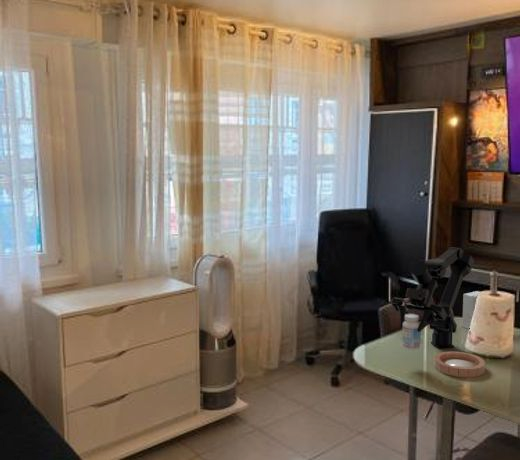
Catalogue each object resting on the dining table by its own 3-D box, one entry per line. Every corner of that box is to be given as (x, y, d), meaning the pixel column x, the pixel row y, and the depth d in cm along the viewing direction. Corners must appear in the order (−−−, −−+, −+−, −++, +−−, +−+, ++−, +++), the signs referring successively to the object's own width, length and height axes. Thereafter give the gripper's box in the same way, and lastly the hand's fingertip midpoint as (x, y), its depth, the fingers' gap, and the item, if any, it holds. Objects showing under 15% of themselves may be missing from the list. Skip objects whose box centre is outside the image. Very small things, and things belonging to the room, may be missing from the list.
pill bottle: (418, 343, 188) (419, 312, 186) (422, 350, 182) (422, 318, 180) (400, 343, 188) (401, 312, 187) (403, 349, 182) (404, 318, 181)
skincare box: (475, 324, 229) (477, 290, 227) (487, 328, 224) (488, 293, 222) (461, 327, 226) (462, 293, 224) (472, 331, 220) (473, 296, 218)
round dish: (466, 357, 192) (467, 349, 192) (494, 374, 177) (494, 366, 177) (426, 361, 189) (426, 353, 189) (450, 379, 174) (451, 371, 173)
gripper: (393, 275, 191) (377, 312, 184) (443, 282, 178) (428, 322, 172) (403, 292, 198) (388, 328, 191) (452, 300, 185) (438, 339, 179)
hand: (409, 329), depth 183 cm, fingers closed on pill bottle, 6 cm apart
